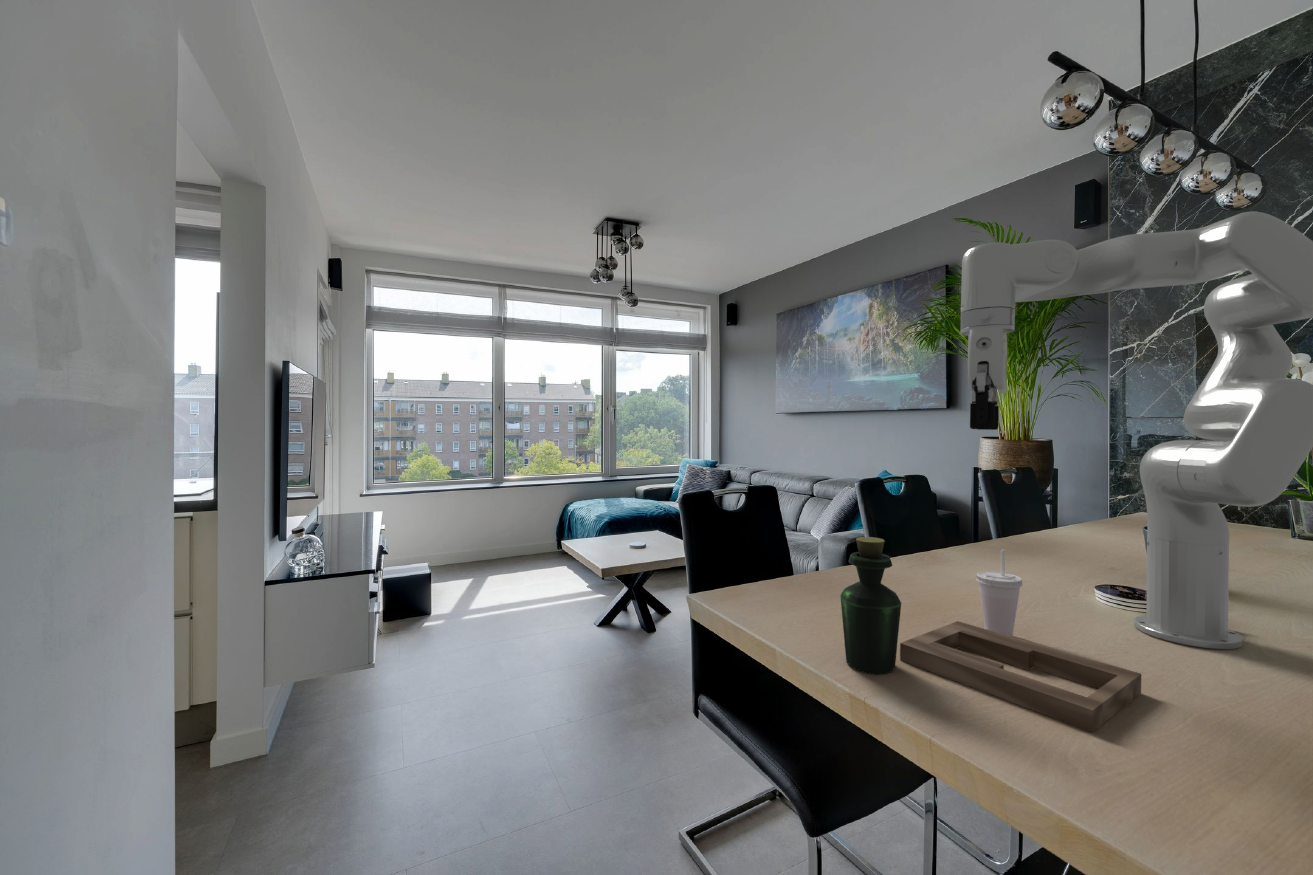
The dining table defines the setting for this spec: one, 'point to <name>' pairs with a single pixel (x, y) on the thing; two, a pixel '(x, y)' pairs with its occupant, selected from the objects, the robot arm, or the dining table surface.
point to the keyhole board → (990, 677)
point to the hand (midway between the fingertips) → (984, 429)
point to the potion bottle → (870, 611)
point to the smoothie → (999, 598)
